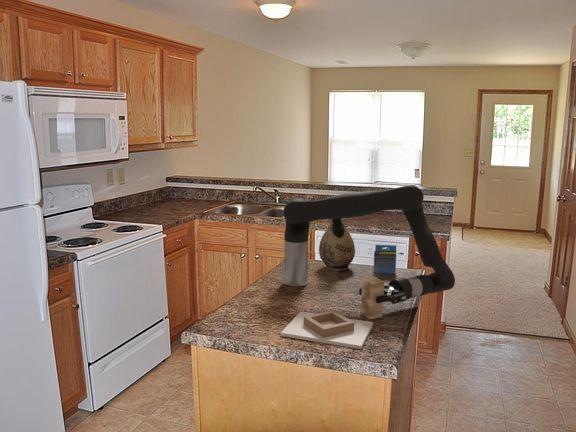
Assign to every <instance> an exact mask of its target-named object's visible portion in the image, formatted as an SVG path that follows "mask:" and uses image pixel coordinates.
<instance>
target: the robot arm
mask: <svg viewBox="0 0 576 432" xmlns="http://www.w3.org/2000/svg"><path fill="white" fill-rule="evenodd" d="M424 196H425V195H424V192H423V191H422V189H421V188H420V187H418V186H416V185H413V184H408V185H406V184H405V185H403V186H397V187H394V188H390V189H384V190H368V191H367V190H364V191H353V192H346V193H345V192H344V193H340V194H336V195H332V196H329V197H326V198H322V199H317V200H306V199H304V198H301V197H294V198H291V199H290V200H289V201H287V203H286V204H285V205H284V207H283V211H282V213H283V214H282V215H283V217H284V219H285V230H284V236H283V237H284V238H283V239H284V243H283V244H284V245H283V247H284V248H283V249H284V250H283V256H284V258H283V259H282V260H281V284H282V285H283V284H284V285H286V286H287V287H288V286H289V287H302V286H303V287H304V286H306V285H307V284H308V280H309V279H308V275H309V274H308V270H309V269H308V268H309V266H308V265H309V264H308V263H309V234H310V222H314V221H318V220H319V221H320V220H332V219H339V218H341V219H350V218H357V217H359V218H360V217H365V216H369V215H373V214H376V213H379V212H384V211H391V210H393V211H394V210H395V211H396V210H401V211H402V213H403V215H404V216H405V218H406V221H407V223H408V226H409V227H410V229H411V233H412V235H413V238H414V242H415V244H416V248H417V250H418V251H417V252H418V253H419V256H420V259H421V262H422V264H423V266H424V267H426V268H432V270H433V271H434V272H432V273H431V272H430V273H428V274H418V275H414V276H413V275H412V276H411V275H410V276H409V275H408V276H403V277H398V278H394V279H391V280H390V281H389V282H388V283H387V284H386V283H384V295H380V296H377V297H376V303H382V302H383V303H391V304H392V305H395V304H398V303H403V302H406V301H407V300H411V299H414V298H417V297H421V296H426V295H429V294H435V293H440V292H444V291H449V290H452V289H454V288H455V284H456V277H455V274H454V273H453V271H452V269H451V268H450V266H449V265H448V264H447V262H446V260H445V259H444V258H443V256H442V253H441V251H440V247H439V245H438V243H437V240H436V238H435V236H434V234H433V232H432V230H431V227H430V226H429V224H428V221H427V218H426V216H425V212H424V211H425V210H424V207H423V202H424V199H425V198H424ZM358 295H360V296H362V287H360V288H359V289H358Z"/></svg>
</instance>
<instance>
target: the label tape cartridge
mask: <svg viewBox="0 0 576 432" xmlns="http://www.w3.org/2000/svg"><path fill="white" fill-rule="evenodd" d="M396 269H397V245H395V244H393V245H392V244H391V245H390V244H388V245H387V244H375V249H374V252H373V269H372V270H373V273H374V274H391V275H392V274H393V275H395V274H396Z"/></svg>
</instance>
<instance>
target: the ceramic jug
mask: <svg viewBox="0 0 576 432" xmlns="http://www.w3.org/2000/svg"><path fill="white" fill-rule="evenodd" d="M318 254H319V258H320V259H321V261H322V262H323V263H324V265H325V266H326V269H327V270H330V271H334V272H340V271H346V270H348V269H349V266H350V264H352V262H353V260H354V258H355V255H356V248H355V242H354V240H353V237H352V235H351V233H350V232H349V230H348V229H347V227H346V225H345V224H344V223H343V222H342V218H339V219H331V221H330V224H329V225H328V226H327V228H326V230H325V231H324V233H323V234H322V237H321V238H320V242H319V246H318Z"/></svg>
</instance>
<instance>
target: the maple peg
mask: <svg viewBox="0 0 576 432" xmlns="http://www.w3.org/2000/svg"><path fill="white" fill-rule="evenodd" d="M384 284H385V281H384V280H382V279H379V278H377V277H374V276H373V277H369V278H368V277H367V278H363V279H362V280H361V288H362V295H361V298H360V299H361V301H360V315H361V316H363V317H365V318H367V319H369V320H374V319H378V318H382V317H384V316H383V314H384V311H383V310H384V302H382V303H376V297H377V296H380V295H384Z"/></svg>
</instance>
